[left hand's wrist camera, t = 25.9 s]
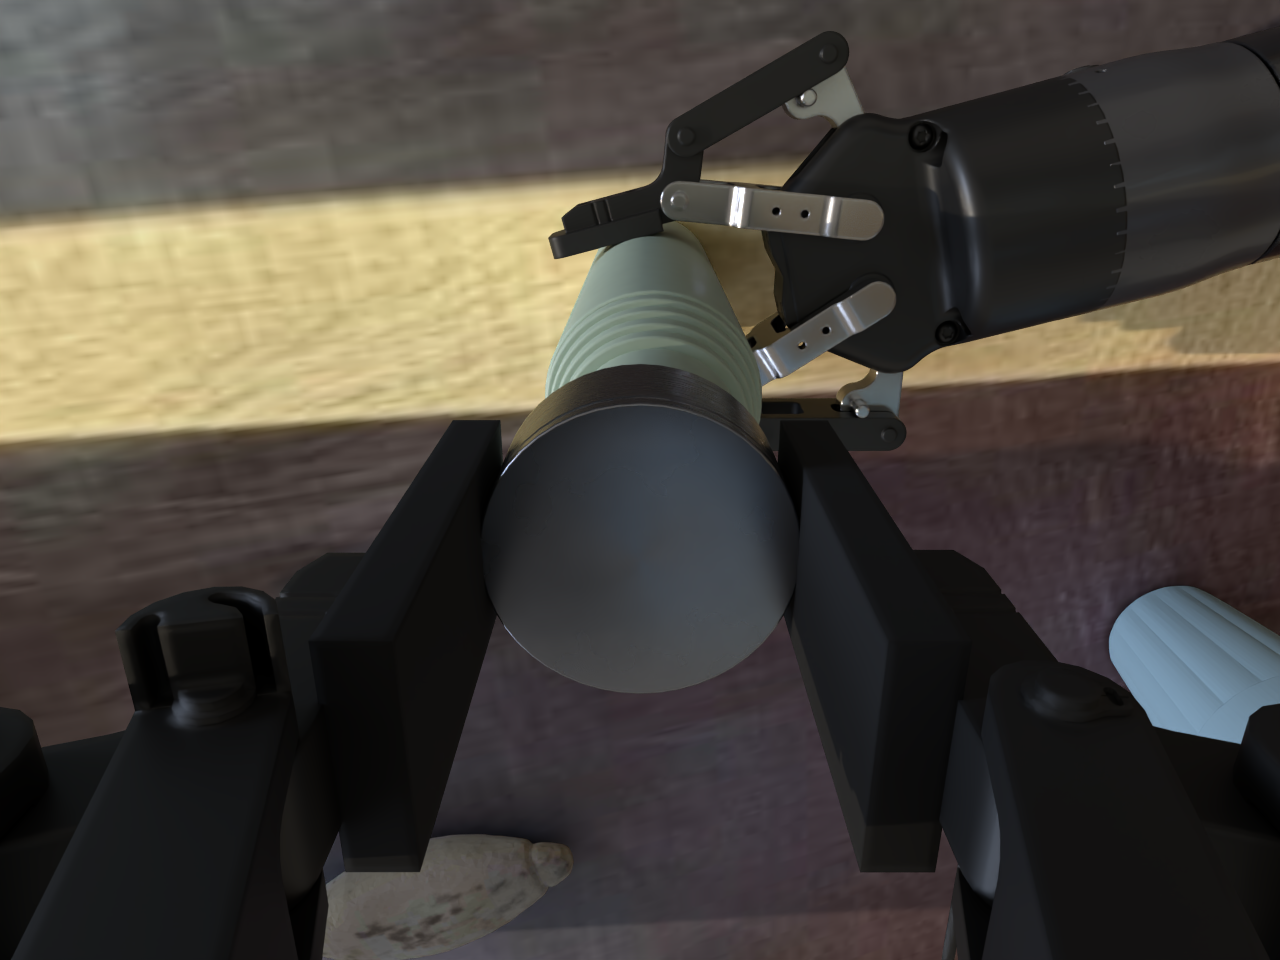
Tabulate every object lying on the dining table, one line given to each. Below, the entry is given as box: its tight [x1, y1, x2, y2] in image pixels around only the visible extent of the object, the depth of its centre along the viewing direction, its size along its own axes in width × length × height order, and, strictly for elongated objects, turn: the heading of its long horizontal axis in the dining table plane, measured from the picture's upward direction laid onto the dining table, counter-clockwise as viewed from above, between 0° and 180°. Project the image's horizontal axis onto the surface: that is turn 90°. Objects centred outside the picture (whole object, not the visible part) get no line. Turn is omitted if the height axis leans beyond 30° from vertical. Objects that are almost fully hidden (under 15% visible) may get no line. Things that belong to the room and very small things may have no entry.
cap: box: [481, 364, 800, 694], centre depth 13 cm, size 5×4×2 cm
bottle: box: [545, 221, 762, 425], centre depth 25 cm, size 5×5×23 cm
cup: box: [1109, 586, 1280, 744], centre depth 37 cm, size 8×8×10 cm
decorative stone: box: [323, 834, 574, 960], centre depth 46 cm, size 6×16×3 cm, turn 110°
